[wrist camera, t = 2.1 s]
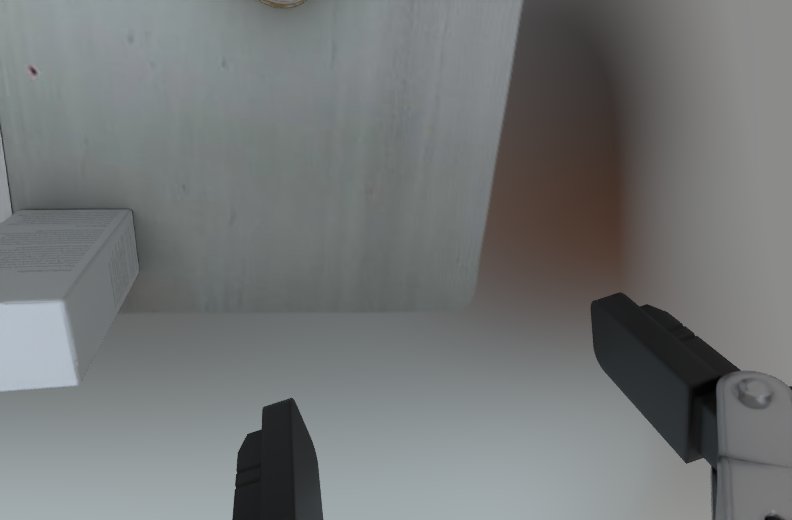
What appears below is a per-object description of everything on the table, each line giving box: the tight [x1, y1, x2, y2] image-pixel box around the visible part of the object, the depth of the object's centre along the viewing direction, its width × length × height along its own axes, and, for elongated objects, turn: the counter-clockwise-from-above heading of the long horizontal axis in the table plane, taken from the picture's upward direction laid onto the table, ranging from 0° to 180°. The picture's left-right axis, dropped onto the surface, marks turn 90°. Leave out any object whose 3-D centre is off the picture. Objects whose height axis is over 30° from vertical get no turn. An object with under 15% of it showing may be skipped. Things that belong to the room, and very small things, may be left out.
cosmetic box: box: [0, 209, 139, 392], centre depth 26 cm, size 6×4×12 cm
